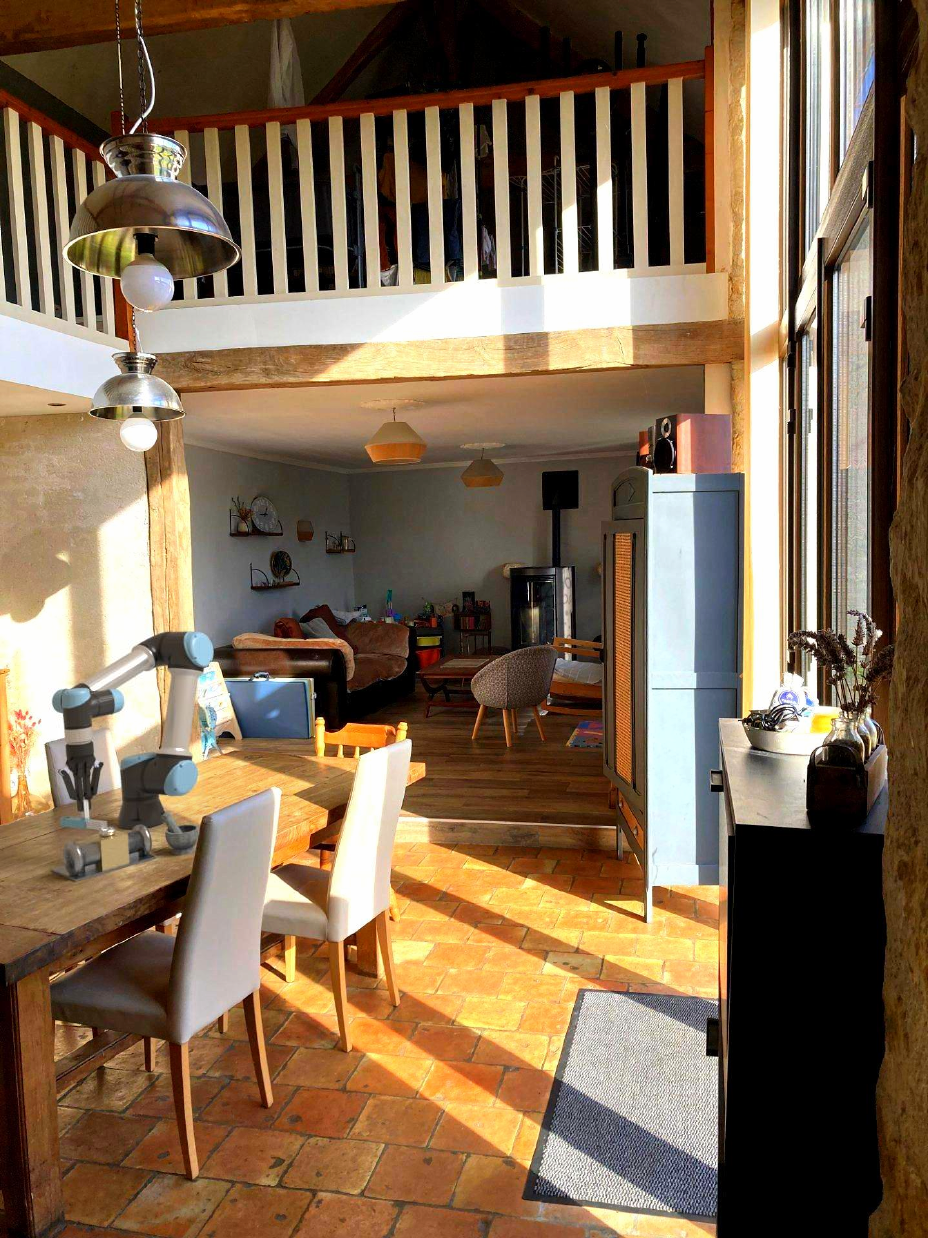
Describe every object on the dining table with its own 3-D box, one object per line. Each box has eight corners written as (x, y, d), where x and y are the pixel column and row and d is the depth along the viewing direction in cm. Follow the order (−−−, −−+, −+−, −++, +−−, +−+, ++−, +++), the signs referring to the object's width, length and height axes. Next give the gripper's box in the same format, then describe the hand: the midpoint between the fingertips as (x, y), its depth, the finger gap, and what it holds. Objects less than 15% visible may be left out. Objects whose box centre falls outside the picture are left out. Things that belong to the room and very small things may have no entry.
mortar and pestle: (205, 847, 279) (203, 808, 278) (191, 857, 270) (189, 817, 269) (171, 846, 281) (169, 807, 280) (156, 856, 272) (153, 816, 271)
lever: (68, 827, 272) (67, 815, 272) (119, 832, 264) (118, 820, 264) (56, 831, 268) (55, 819, 268) (107, 837, 260) (106, 824, 260)
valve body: (130, 849, 280) (128, 818, 279) (155, 858, 270) (154, 826, 269) (51, 870, 262) (48, 837, 261) (75, 881, 252) (73, 847, 251)
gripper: (94, 736, 275) (99, 814, 277) (51, 744, 266) (57, 825, 267) (106, 739, 270) (112, 818, 272) (63, 747, 261) (70, 829, 262)
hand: (85, 821), depth 270 cm, fingers closed
